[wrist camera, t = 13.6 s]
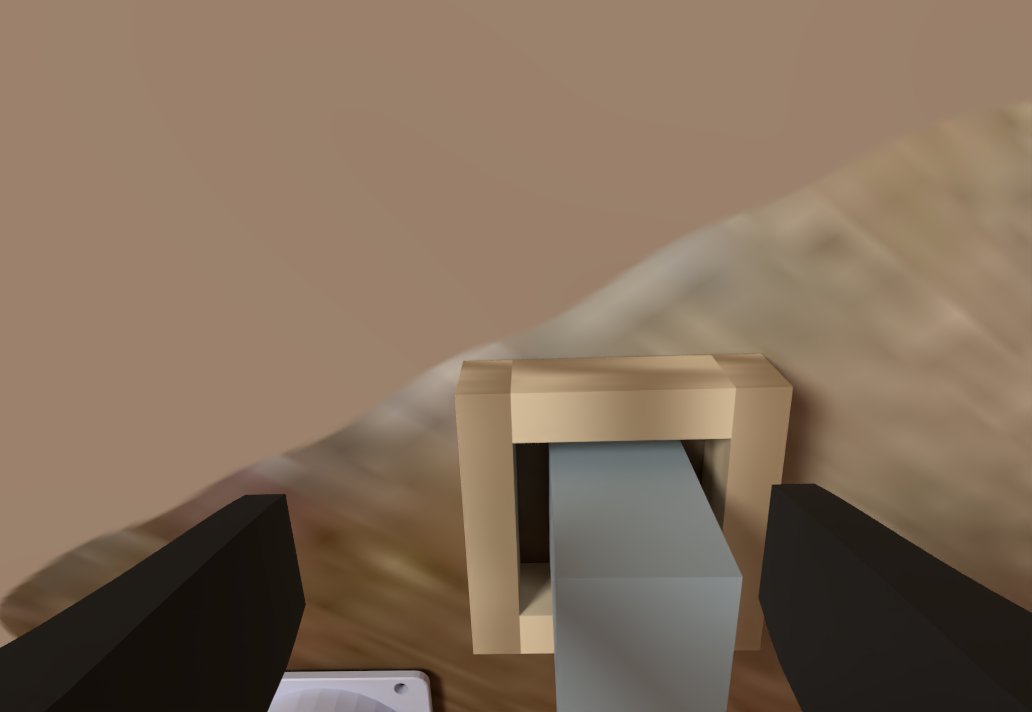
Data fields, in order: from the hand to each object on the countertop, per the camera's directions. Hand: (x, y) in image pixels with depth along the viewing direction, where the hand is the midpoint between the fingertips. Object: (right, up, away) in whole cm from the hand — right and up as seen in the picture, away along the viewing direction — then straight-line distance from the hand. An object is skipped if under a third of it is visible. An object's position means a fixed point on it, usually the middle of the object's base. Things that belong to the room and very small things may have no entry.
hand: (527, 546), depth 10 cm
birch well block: (+3, -1, +12) cm, 12 cm away
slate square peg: (+3, -1, +12) cm, 12 cm away
